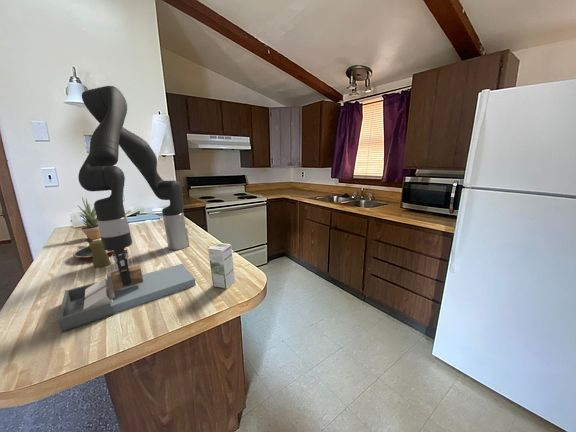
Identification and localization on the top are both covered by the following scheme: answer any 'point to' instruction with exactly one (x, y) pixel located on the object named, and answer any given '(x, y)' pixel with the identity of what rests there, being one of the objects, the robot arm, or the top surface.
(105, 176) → the robot arm
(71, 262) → the top surface
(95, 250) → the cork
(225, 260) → the syrup box
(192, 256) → the top surface
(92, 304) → the tile
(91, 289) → the tile
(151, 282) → the board
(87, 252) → the frying pan
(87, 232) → the potted plant
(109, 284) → the scraper
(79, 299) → the tray
